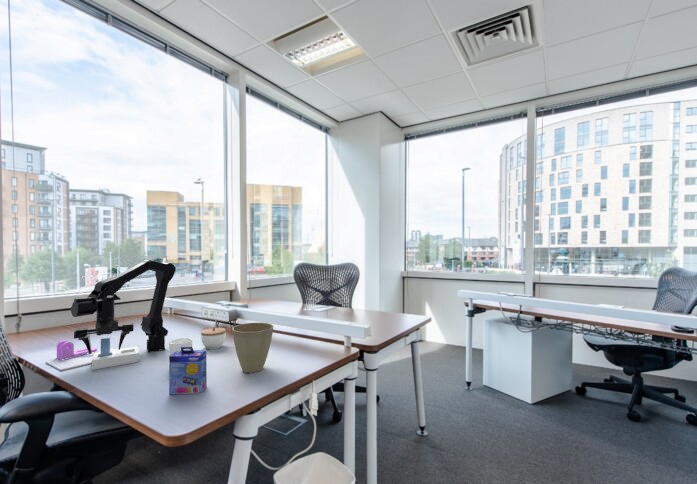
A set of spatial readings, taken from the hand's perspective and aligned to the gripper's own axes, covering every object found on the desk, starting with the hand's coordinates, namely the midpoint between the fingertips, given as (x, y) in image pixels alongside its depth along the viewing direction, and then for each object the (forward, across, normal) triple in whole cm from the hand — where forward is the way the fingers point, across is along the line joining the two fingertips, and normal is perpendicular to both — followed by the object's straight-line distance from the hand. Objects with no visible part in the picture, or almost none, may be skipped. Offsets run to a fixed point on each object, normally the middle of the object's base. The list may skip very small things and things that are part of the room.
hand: (105, 351), depth 128 cm
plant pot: (+5, +46, -41) cm, 62 cm away
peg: (+5, 0, 0) cm, 5 cm away
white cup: (+5, +24, -22) cm, 33 cm away
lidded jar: (+5, +40, -3) cm, 41 cm away
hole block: (+5, +4, 0) cm, 6 cm away
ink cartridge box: (+5, +23, -47) cm, 53 cm away
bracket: (+5, -10, +21) cm, 24 cm away
